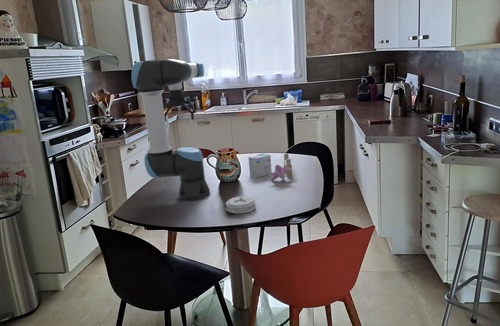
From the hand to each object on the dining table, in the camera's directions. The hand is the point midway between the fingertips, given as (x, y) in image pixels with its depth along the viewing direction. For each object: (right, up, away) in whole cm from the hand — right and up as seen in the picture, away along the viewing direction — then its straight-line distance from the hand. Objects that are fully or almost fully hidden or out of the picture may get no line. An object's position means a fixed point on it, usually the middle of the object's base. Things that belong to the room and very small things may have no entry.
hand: (180, 126), depth 246 cm
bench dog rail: (+61, -26, -12) cm, 68 cm away
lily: (+56, -31, -28) cm, 70 cm away
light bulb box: (+46, -28, -12) cm, 55 cm away
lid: (+37, -41, -63) cm, 84 cm away
